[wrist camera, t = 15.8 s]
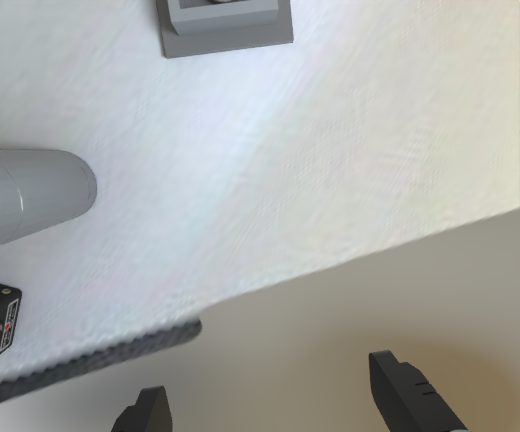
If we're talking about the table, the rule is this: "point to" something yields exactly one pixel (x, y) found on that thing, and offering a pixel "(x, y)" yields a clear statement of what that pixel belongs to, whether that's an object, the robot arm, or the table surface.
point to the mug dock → (222, 25)
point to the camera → (8, 315)
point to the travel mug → (222, 1)
